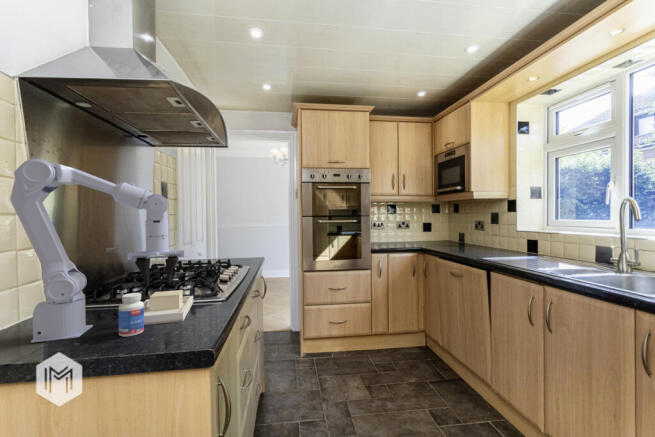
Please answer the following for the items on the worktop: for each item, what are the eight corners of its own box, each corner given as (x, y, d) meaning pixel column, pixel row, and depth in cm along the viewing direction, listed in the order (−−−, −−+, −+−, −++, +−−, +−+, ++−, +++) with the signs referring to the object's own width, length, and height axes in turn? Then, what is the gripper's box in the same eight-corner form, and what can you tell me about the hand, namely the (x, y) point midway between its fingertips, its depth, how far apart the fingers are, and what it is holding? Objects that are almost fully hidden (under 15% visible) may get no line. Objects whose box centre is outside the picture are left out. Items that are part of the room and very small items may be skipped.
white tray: (126, 327, 78) (125, 317, 78) (146, 307, 95) (146, 299, 95) (183, 321, 82) (183, 312, 82) (193, 303, 99) (193, 295, 99)
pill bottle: (132, 337, 71) (131, 298, 71) (113, 336, 72) (112, 297, 72) (149, 329, 77) (148, 292, 76) (131, 328, 77) (131, 291, 77)
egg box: (150, 311, 89) (149, 296, 89) (155, 305, 95) (155, 292, 95) (179, 308, 92) (179, 294, 92) (183, 303, 97) (182, 290, 97)
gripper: (122, 237, 78) (123, 288, 78) (182, 236, 82) (182, 284, 82) (132, 236, 85) (133, 282, 85) (186, 234, 89) (187, 279, 89)
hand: (158, 283), depth 84 cm, fingers open, 5 cm apart
